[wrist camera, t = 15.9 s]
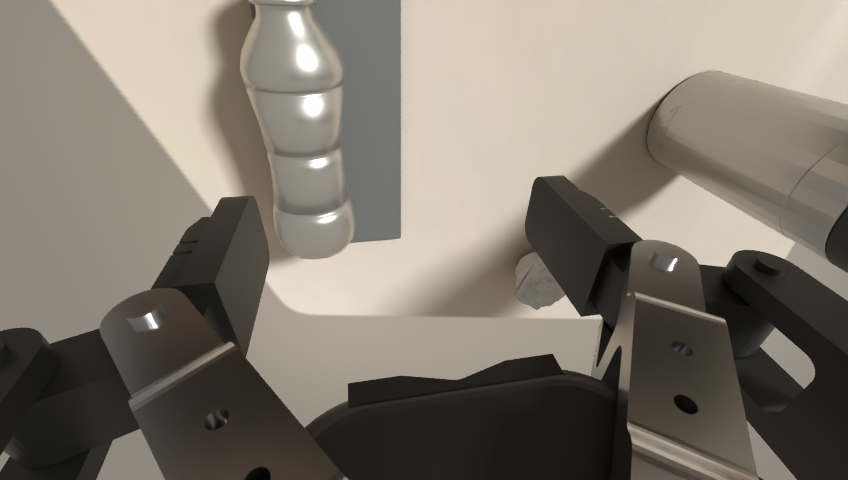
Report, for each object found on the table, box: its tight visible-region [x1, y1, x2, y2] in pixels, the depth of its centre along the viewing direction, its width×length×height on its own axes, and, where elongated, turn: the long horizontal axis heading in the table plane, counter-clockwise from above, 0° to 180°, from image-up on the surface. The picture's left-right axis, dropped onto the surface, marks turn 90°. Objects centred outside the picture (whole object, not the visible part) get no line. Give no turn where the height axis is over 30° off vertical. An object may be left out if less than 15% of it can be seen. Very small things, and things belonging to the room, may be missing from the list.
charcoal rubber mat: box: [251, 0, 401, 242], centre depth 30 cm, size 10×24×1 cm, turn 179°
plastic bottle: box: [240, 0, 356, 259], centre depth 27 cm, size 6×7×20 cm
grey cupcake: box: [515, 252, 566, 310], centre depth 41 cm, size 6×7×7 cm
